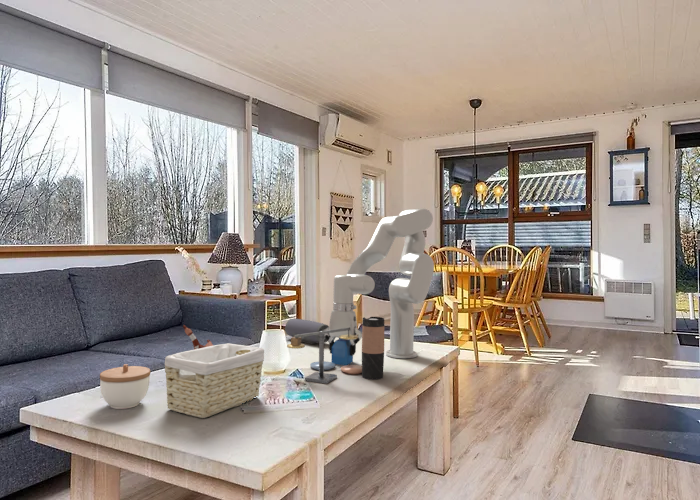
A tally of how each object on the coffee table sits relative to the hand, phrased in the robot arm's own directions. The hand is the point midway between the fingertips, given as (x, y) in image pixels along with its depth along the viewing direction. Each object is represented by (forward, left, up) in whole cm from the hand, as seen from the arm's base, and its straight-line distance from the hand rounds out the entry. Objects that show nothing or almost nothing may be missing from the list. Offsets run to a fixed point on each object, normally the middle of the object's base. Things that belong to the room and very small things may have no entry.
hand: (342, 353), depth 186 cm
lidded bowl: (+70, -35, -4) cm, 78 cm away
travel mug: (+14, +17, -4) cm, 22 cm away
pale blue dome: (+10, -3, -3) cm, 11 cm away
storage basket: (+59, -13, -4) cm, 61 cm away
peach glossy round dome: (+10, +9, -3) cm, 14 cm away
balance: (+24, +3, -3) cm, 24 cm away
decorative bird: (+38, -35, -4) cm, 52 cm away
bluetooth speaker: (-30, -30, -4) cm, 42 cm away
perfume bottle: (0, 0, -4) cm, 4 cm away
